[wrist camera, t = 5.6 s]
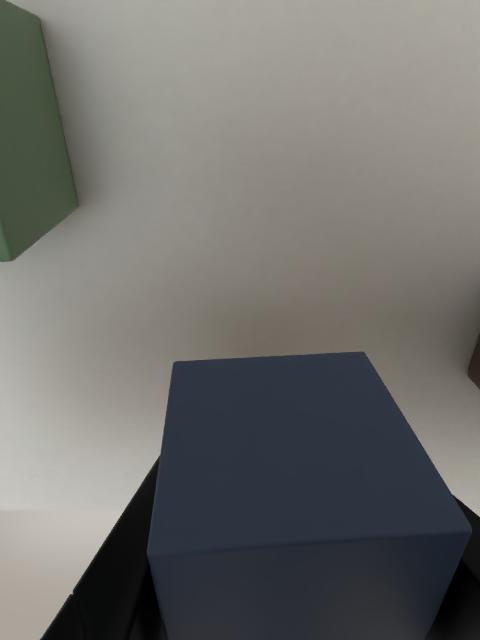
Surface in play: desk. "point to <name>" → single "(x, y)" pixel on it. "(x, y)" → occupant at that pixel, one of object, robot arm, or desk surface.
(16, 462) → the desk surface
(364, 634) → the blue block
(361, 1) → the desk surface
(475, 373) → the walnut block
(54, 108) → the green block
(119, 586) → the robot arm
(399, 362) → the desk surface
